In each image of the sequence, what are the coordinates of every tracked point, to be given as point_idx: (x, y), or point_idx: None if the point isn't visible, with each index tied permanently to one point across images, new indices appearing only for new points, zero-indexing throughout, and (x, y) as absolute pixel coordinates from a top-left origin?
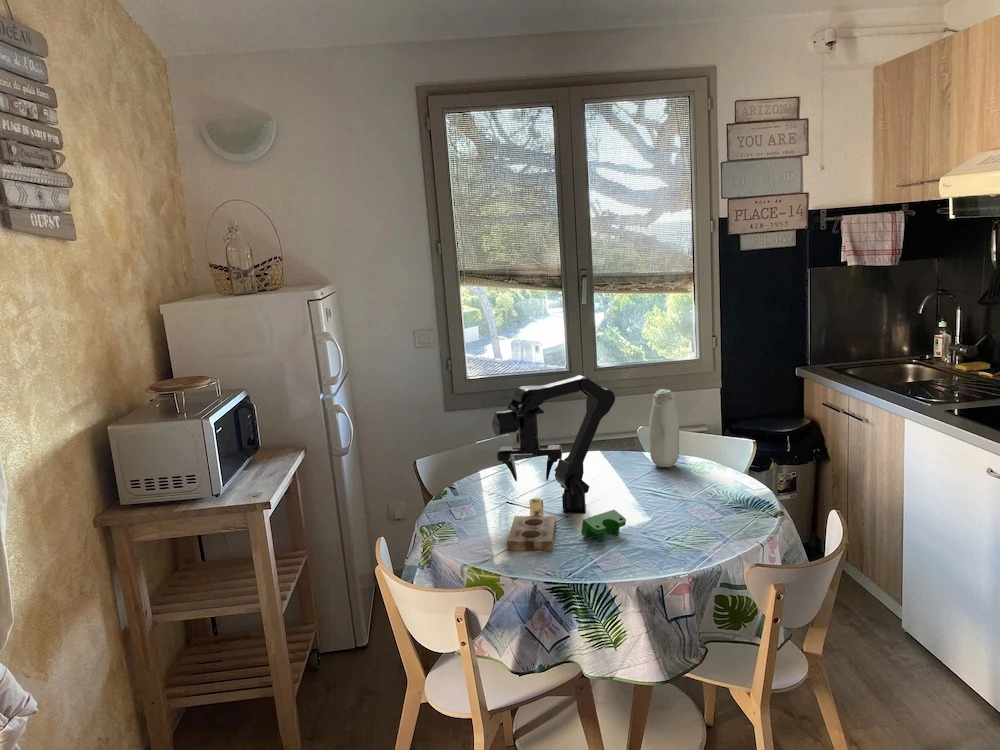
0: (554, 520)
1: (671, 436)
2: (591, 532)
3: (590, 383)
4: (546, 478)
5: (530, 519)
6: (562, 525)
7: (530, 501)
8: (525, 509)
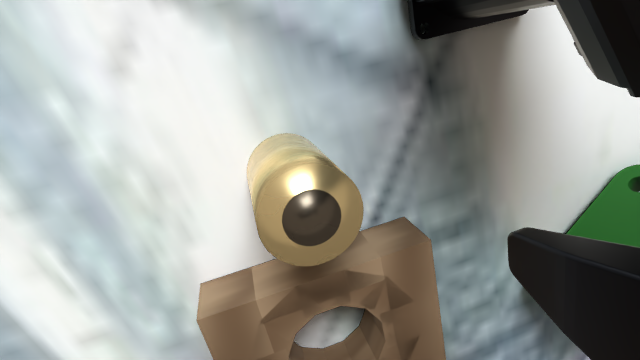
0: (434, 292)
1: None
2: None
3: None
4: (539, 302)
5: (306, 319)
6: (430, 202)
7: (275, 250)
8: (140, 25)
